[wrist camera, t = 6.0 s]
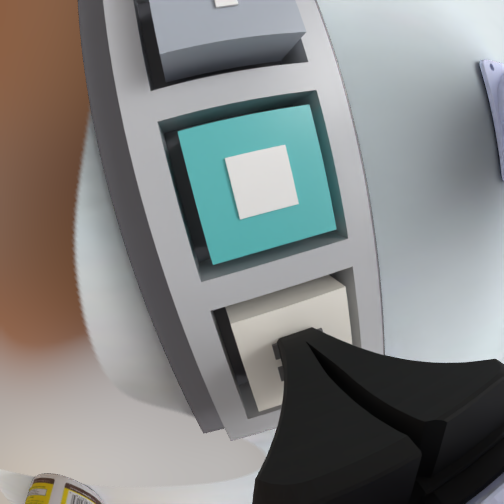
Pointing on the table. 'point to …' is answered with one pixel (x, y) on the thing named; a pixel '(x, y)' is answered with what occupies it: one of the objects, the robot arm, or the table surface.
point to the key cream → (284, 329)
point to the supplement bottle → (60, 491)
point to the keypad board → (185, 210)
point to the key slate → (223, 33)
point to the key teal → (258, 181)
